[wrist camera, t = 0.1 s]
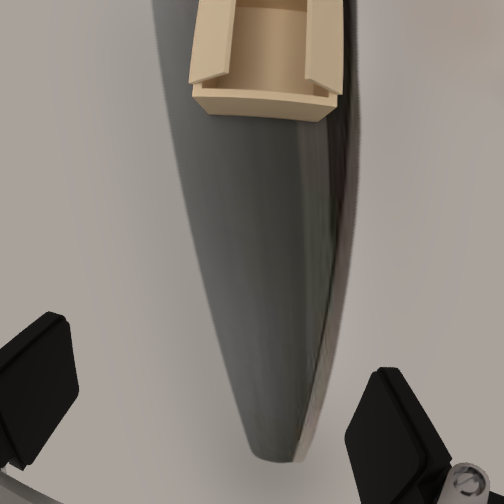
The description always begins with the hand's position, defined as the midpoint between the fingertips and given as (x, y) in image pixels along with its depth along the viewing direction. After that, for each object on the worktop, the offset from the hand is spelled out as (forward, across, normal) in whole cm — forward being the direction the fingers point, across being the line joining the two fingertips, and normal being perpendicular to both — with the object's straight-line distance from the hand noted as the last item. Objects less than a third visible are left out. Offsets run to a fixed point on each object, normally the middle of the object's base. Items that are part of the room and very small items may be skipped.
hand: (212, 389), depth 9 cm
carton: (+31, +1, -21) cm, 37 cm away
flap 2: (+19, -4, -21) cm, 29 cm away
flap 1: (+19, +6, -20) cm, 28 cm away
